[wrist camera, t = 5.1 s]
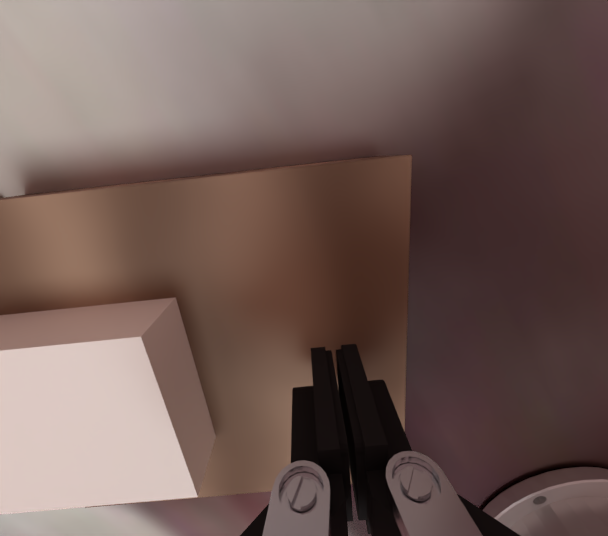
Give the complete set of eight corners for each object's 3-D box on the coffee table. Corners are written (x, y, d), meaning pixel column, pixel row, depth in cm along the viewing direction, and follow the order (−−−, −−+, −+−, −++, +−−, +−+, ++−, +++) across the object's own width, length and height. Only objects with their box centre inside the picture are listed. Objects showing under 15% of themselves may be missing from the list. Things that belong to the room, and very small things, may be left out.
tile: (175, 297, 11) (140, 336, 8) (215, 436, 13) (197, 496, 11) (-64, 321, 11) (-164, 367, 8) (20, 454, 13) (-39, 517, 11)
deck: (378, 156, 13) (412, 154, 9) (381, 412, 18) (403, 479, 14) (24, 195, 13) (-87, 209, 9) (128, 436, 18) (85, 507, 15)
